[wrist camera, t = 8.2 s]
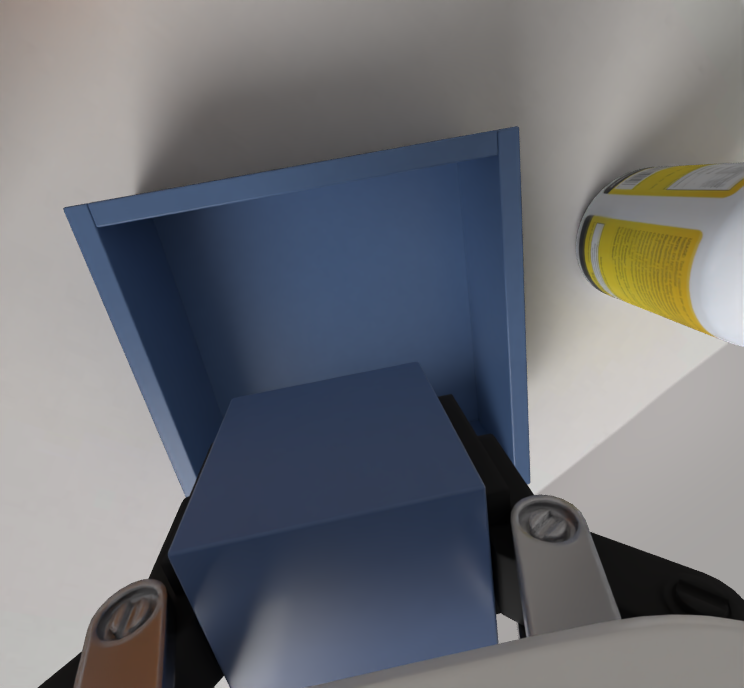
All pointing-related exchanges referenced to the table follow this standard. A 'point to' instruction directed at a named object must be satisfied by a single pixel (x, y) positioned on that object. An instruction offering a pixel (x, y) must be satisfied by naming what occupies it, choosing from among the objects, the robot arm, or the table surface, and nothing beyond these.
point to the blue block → (337, 533)
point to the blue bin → (321, 284)
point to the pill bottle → (671, 245)
